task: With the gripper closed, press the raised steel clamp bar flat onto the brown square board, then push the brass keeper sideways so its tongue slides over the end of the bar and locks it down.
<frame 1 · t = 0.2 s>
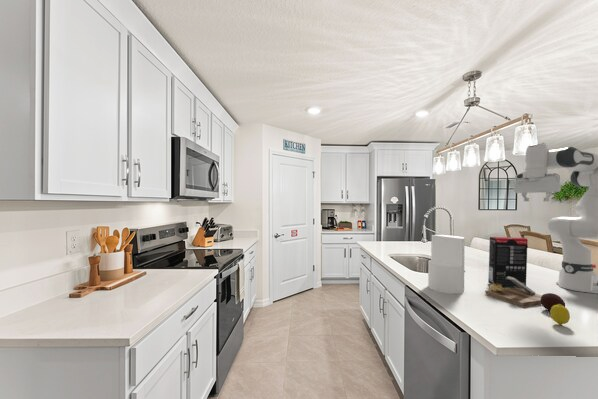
hand: (536, 201, 147), 48 cm above the counter, tool pointing down, fingers open, 8 cm apart
graphics card box: (507, 286, 160), on the counter
lemon: (559, 325, 109), on the counter
clamp bar: (521, 285, 139), point 6 cm above the counter, hinge at 30.0°
cylinder: (445, 288, 154), on the counter
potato: (552, 311, 123), on the counter
brass keeper: (498, 288, 143), point 4 cm above the counter, slide at 0.0 cm
brown square board: (518, 298, 139), on the counter
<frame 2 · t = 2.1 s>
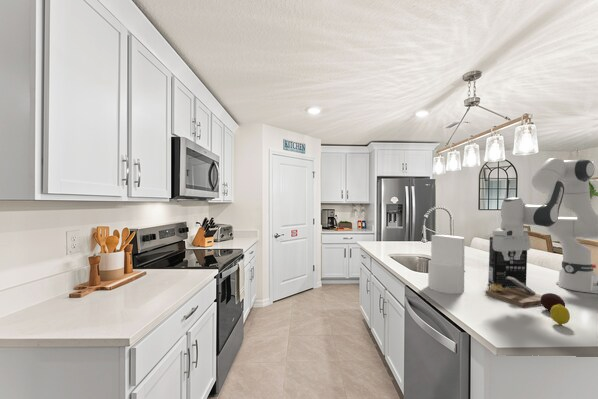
hand: (511, 260, 137), 19 cm above the counter, tool pointing down, fingers open, 5 cm apart
nothing on the counter moved.
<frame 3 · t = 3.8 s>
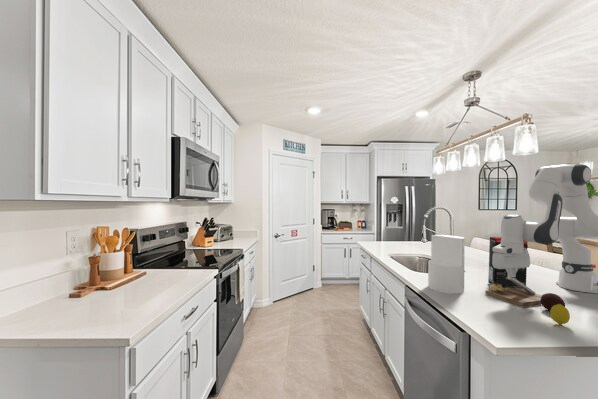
hand: (511, 277, 137), 11 cm above the counter, tool pointing down, fingers closed
clamp bar: (521, 285, 139), point 6 cm above the counter, hinge at 29.7°, touching gripper
everything else where it was.
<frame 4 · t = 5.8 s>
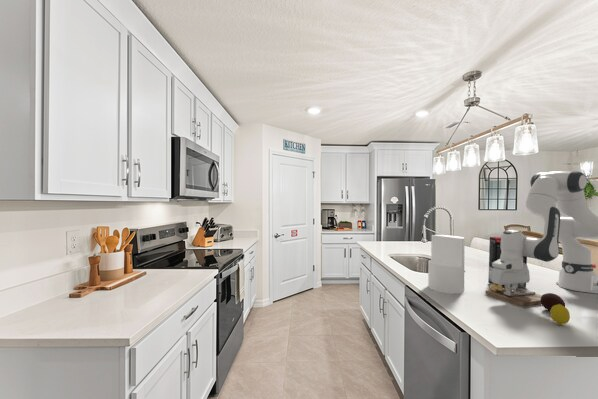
hand: (510, 292, 137), 4 cm above the counter, tool pointing down, fingers closed on clamp bar
clamp bar: (519, 292, 139), point 3 cm above the counter, hinge at 1.9°, touching gripper
everything else where it was.
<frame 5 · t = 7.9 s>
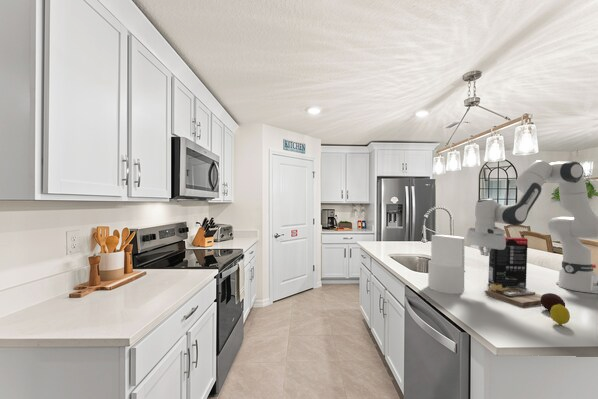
hand: (484, 255, 150), 19 cm above the counter, tool pointing down, fingers closed
clamp bar: (519, 292, 139), point 3 cm above the counter, hinge at 1.8°
everything else where it was.
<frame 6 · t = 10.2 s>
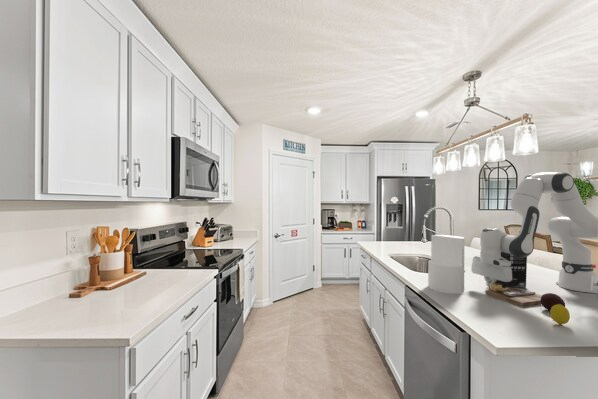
hand: (490, 286, 147), 4 cm above the counter, tool pointing down, fingers closed
brass keeper: (499, 288, 143), point 4 cm above the counter, slide at 0.0 cm, touching gripper
everything else where it was.
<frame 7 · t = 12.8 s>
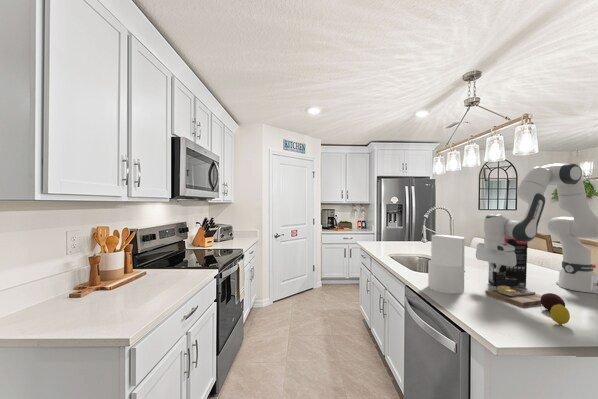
hand: (494, 271, 149), 11 cm above the counter, tool pointing down, fingers closed
brass keeper: (506, 290, 139), point 4 cm above the counter, slide at 4.1 cm
everything else where it was.
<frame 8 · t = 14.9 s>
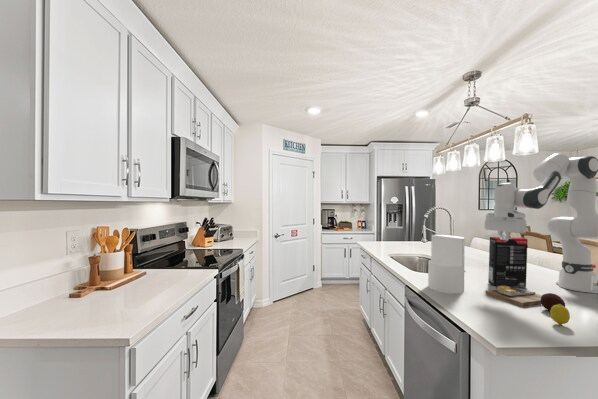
hand: (504, 240, 149), 27 cm above the counter, tool pointing down, fingers closed
nothing on the counter moved.
at the end: clamp bar at +2° (first picture: +30°); brass keeper slide at 4.1 cm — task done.
